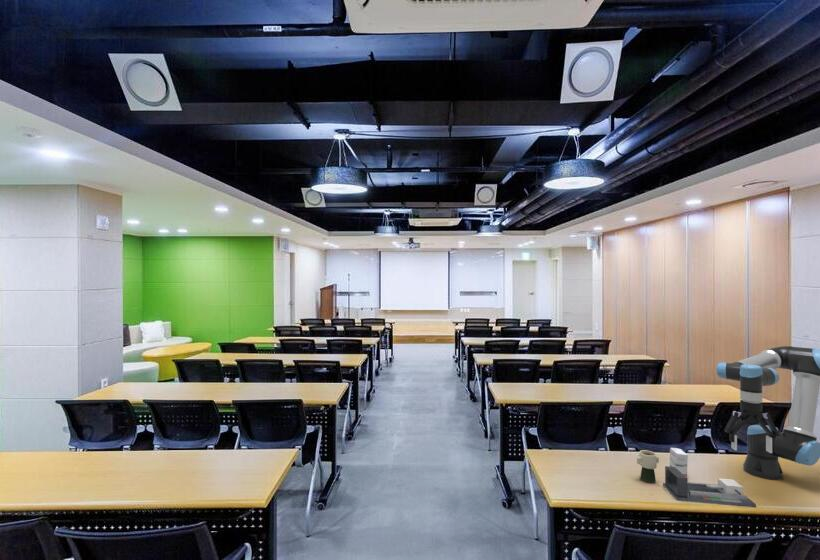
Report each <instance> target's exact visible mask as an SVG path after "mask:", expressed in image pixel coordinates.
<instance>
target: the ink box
mask: <svg viewBox="0 0 820 560" xmlns="http://www.w3.org/2000/svg"><path fill="white" fill-rule="evenodd" d="M688 458H689V456H688V454H687V453H686V452H685V451H684V450H683V449H682V448H677V447H670V448H669V467H675V468H676V469H678V470H679V471H680V472H681V473H682V474H683V475H684V476H685V477H687V478H688Z"/></svg>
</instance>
